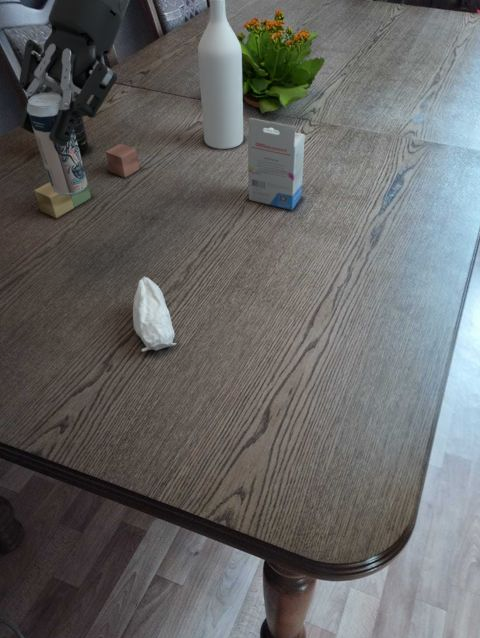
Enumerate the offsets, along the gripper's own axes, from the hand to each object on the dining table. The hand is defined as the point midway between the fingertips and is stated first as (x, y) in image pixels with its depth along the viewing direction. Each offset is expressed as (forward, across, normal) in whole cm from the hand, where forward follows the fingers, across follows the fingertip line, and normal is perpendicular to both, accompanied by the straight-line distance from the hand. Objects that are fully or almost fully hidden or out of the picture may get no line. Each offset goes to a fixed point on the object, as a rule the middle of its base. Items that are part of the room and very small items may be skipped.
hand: (42, 136), depth 68 cm
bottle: (-17, -9, +49) cm, 52 cm away
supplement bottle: (-2, -30, +33) cm, 45 cm away
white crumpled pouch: (+17, +18, +13) cm, 28 cm away
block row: (+3, -16, +27) cm, 32 cm away
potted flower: (-32, -14, +64) cm, 73 cm away
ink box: (-8, +12, +39) cm, 42 cm away
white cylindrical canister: (+5, 0, +7) cm, 9 cm away
